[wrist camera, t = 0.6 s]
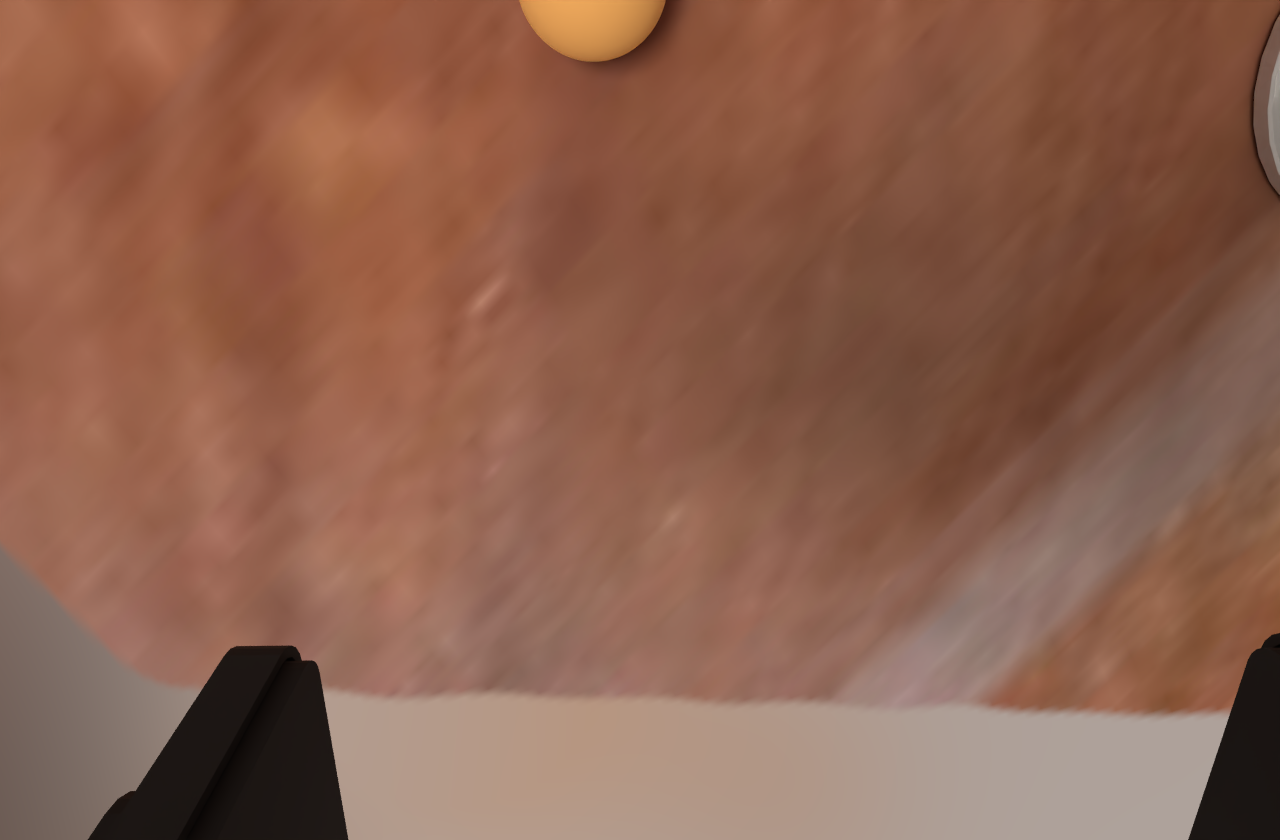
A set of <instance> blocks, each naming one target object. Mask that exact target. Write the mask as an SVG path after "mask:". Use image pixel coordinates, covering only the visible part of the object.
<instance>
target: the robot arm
mask: <svg viewBox="0 0 1280 840" xmlns="http://www.w3.org/2000/svg"><path fill="white" fill-rule="evenodd" d="M1253 126H1254V132H1255V138H1256V144H1257V149H1258V155H1259V158H1260V160H1261V163H1262V165H1263V167H1264V170H1265V172H1266V175H1267V177H1268V179H1269V182H1270V183H1271V185H1272V186H1273V187H1274V189H1275V190H1276V191H1277V193H1278V194H1279V195H1280V15H1279V17H1278V18H1277V20H1276V22H1275V24H1274V27H1273V29H1272V32H1271V35H1270V37H1269V40H1268V43H1267V45H1266V48H1265V50H1264V53H1263V56H1262V58H1261V63H1260V68H1259V73H1258V77H1257V82H1256V87H1255V92H1254V122H1253ZM88 840H348V835H347V829H346V823H345V818H344V812H343V806H342V800H341V795H340V788H339V783H338V777H337V771H336V765H335V759H334V753H333V748H332V742H331V736H330V730H329V724H328V719H327V713H326V707H325V702H324V695H323V689H322V684H321V678H320V672H319V669H318V666H317V664H316V662H314V661H302V660H301V656H300V653H299V652H298V650H297V648H296V647H293V646H236V647H234V648H231V649H230V650H229V651H228V652H227V653H226V654H225V656H224V657H223V659H222V660H221V662H220V663H219V665H218V666H217V668H216V669H215V671H214V672H213V674H212V675H211V677H210V678H209V680H208V681H207V683H206V684H205V686H204V688H203V689H202V691H201V692H200V694H199V695H198V697H197V698H196V700H195V701H194V703H193V704H192V706H191V707H190V709H189V710H188V712H187V713H186V715H185V717H184V718H183V720H182V721H181V723H180V724H179V726H178V727H177V729H176V730H175V732H174V733H173V735H172V736H171V738H170V739H169V741H168V743H167V744H166V746H165V747H164V749H163V750H162V752H161V753H160V755H159V756H158V758H157V759H156V761H155V763H154V764H153V765H152V767H151V768H150V770H149V771H148V773H147V775H146V776H145V778H144V779H143V781H142V782H141V784H140V785H139V787H138V788H137V790H136V791H130V792H128V793H127V794H125V795H124V796H122V797H120V798H119V799H117V801H116V802H115V803H114V804H113V805H112V807H111V808H110V809H109V810H108V811H107V812H106V814H105V815H104V816H103V818H102V819H101V821H100V822H99V824H98V825H97V827H96V828H95V830H94V831H93V833H92V834H91V836H90V837H89V839H88ZM1188 840H1280V633H1278V634H1274V635H1271V636H1270V637H1269V638H1268V639H1267V640H1265V642H1264V644H1263V646H1262V647H1261V648H1260V649H1257V650H1255V651H1254V652H1253V653H1252V654H1251V655H1250V657H1249V659H1248V662H1247V665H1246V668H1245V671H1244V674H1243V677H1242V680H1241V683H1240V686H1239V689H1238V692H1237V695H1236V698H1235V701H1234V704H1233V707H1232V710H1231V713H1230V716H1229V719H1228V722H1227V725H1226V728H1225V731H1224V734H1223V737H1222V740H1221V743H1220V746H1219V749H1218V752H1217V755H1216V758H1215V761H1214V764H1213V767H1212V770H1211V773H1210V776H1209V779H1208V782H1207V785H1206V788H1205V791H1204V794H1203V797H1202V800H1201V803H1200V806H1199V809H1198V812H1197V815H1196V818H1195V821H1194V824H1193V827H1192V830H1191V834H1190V836H1189V839H1188Z"/></svg>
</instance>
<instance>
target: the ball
mask: <svg viewBox="0 0 1280 840" xmlns="http://www.w3.org/2000/svg"><path fill="white" fill-rule="evenodd" d="M519 1H520V4H521V7H522V10H523V12H524V14H525V17H526V18H527V20H528V22H529V23H530V25H531V27H532V28H533V29H534V31H535V32H536V33H537V35H538V36H539V37H540V38H541V39H542V40H543V41H544V42H545V43H546V44H548V45H549V46H550V47H551V48H553V49H554V50H556V51H557V52H559V53H561V54H563V55H565V56H567V57H570V58H573V59H576V60H580V61H587V62H601V61H607V60H611V59H615V58H618V57H620V56H622V55H625V54H627V53H628V52H630V51H631V50H633V49H635V48H636V47H637V46H638V45H639V44H641V43H642V42H643V41H644V40H645V39H646V38H647V36H648V35H649V34H650V33H651V31H652V30H653V29H654V27H655V26H656V24H657V22H658V20H659V18H660V16H661V14H662V11H663V8H664V5H665V1H666V0H519Z"/></svg>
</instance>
